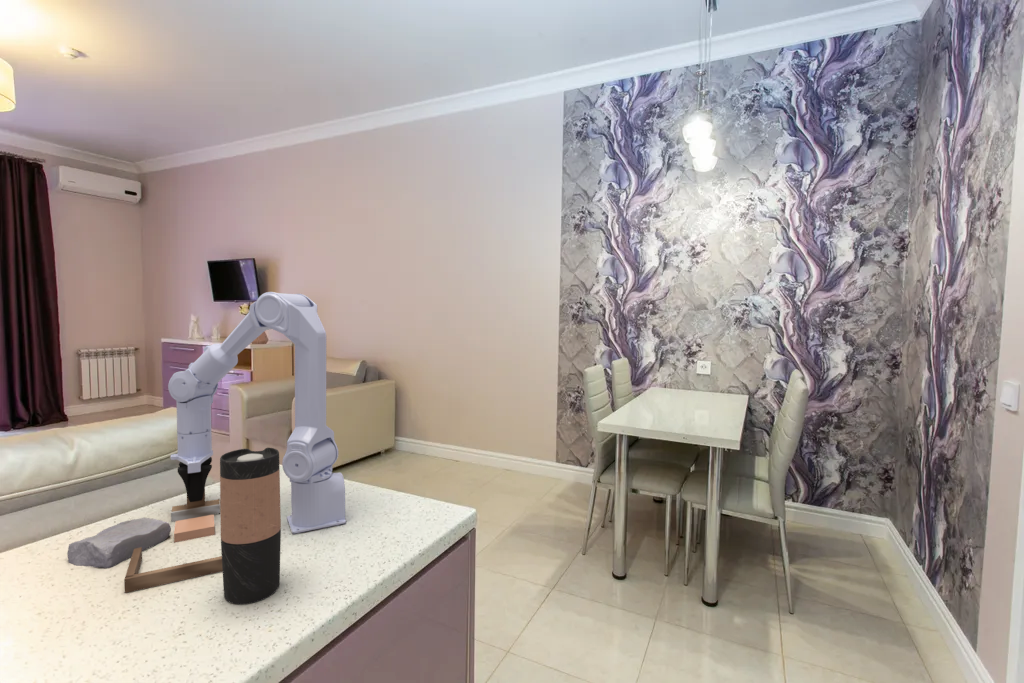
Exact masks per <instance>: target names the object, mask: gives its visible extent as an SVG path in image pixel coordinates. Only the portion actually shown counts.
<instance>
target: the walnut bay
mask: <svg viewBox="0 0 1024 683" xmlns="http://www.w3.org/2000/svg"><path fill="white" fill-rule="evenodd" d="M142 562H143V552H142V547H141V548H135V549H134V551H133V554H132V557H131V558H130V560H129V564H128V566H127V570H126V573H125V576H124V580H123V581H124V582H123V583H124V594H128V593H131V592H136V591H141V590H145V589H149V588H154V587H157V586H164V585H167V584H172V583H173V584H174V583H176V582H181V581H185V580H190V579H194V578H199V577H202V576H203V577H204V576H208V575H213V574H216V573H221V572H222V573H223V570H222V555H221V556H217V557H211V558H207V559H202V560H195V561H191V562H188V563H186V562H185V563H183V564H182V563H181V564H178V565H173V566H168V567H164V568H158V569H154V570H149V571H144V572H140V569H141V565H142Z"/></svg>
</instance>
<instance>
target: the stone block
mask: <svg viewBox="0 0 1024 683" xmlns="http://www.w3.org/2000/svg"><path fill="white" fill-rule="evenodd" d="M171 531H172V528H171V525H170V522H167V521H163V520H161V519H156V518H152V517H151V518H150V517H140V518H134V519H130V520H129V519H128V520H125V521H122V522H118V523H116V524H114V525H112V526H110V527H107V528H105V529H103V530H101V531H100V532H98V533H97V534H96V535H93V536H89V537H86V538H83V539H80V540H77V541H74V542H71V543H69V544H68V547H67V553H66V554H67V559H68V560H67V561H68V564H71V565H74V566H76V567H82V566H83V567H93V568H103V569H110V568H112V567H115V566H117V565H119V564H120V563H123V562H125V561H126V560H128V559H131V557H132V554H133V551H134V549H135V548H141V547H142V553H143V552H144V551H147V550H148V549H150V548H152V547H154V546H157V545H159V544H161V543H163V542H164V541H165V540H168V538H169V537H170V534H171Z"/></svg>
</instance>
